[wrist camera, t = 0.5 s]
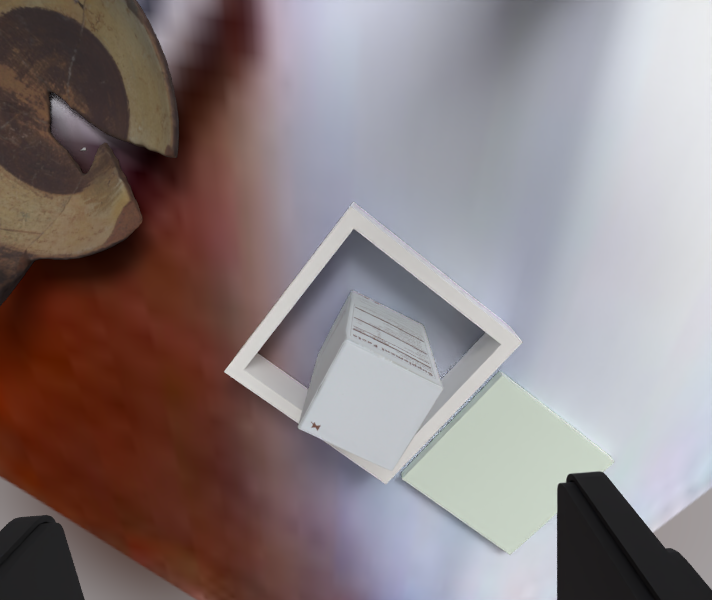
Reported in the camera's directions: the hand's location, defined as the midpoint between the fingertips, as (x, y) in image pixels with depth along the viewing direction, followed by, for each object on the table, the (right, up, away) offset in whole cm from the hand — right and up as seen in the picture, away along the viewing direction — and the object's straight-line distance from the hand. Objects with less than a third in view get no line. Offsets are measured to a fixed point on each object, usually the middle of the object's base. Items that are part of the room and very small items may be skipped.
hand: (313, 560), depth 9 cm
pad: (+15, -11, +37) cm, 41 cm away
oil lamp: (-25, +18, +30) cm, 43 cm away
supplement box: (+2, +1, +34) cm, 34 cm away
